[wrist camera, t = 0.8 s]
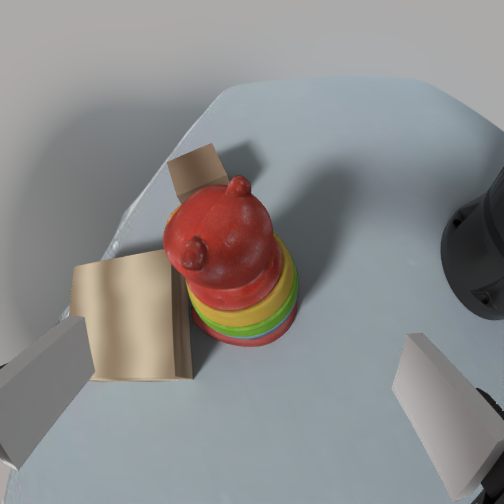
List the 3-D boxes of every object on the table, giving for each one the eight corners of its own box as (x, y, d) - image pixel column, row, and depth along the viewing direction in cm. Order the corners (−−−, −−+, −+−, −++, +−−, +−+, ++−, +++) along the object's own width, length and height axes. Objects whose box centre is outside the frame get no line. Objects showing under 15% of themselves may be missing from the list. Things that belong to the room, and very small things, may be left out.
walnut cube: (222, 173, 41) (211, 143, 36) (237, 205, 38) (227, 174, 33) (182, 190, 41) (166, 162, 36) (193, 224, 38) (176, 196, 33)
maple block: (186, 266, 36) (171, 247, 31) (193, 379, 30) (175, 376, 25) (96, 281, 37) (74, 266, 32) (93, 381, 31) (67, 376, 26)
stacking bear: (243, 242, 36) (200, 124, 20) (319, 286, 32) (333, 177, 16) (185, 317, 33) (91, 241, 17) (260, 372, 29) (213, 344, 13)
